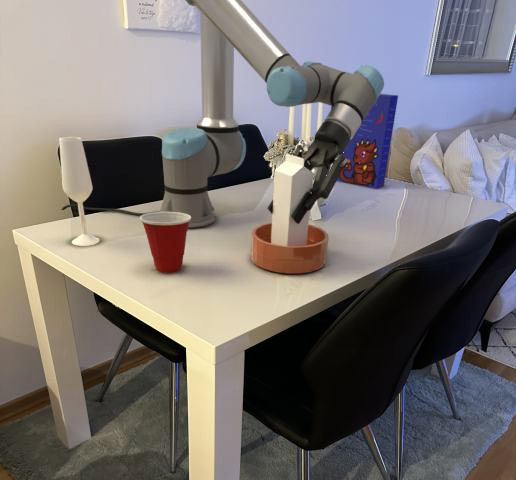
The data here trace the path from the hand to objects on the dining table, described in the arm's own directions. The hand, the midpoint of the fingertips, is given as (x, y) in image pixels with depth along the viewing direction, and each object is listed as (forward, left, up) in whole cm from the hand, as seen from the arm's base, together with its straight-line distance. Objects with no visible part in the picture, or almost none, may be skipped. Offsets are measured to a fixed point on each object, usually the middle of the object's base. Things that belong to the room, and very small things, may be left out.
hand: (283, 215), depth 112 cm
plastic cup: (-26, -1, -11) cm, 28 cm away
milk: (+2, +1, -10) cm, 10 cm away
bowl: (+2, +1, -11) cm, 11 cm away
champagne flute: (-46, +18, -11) cm, 51 cm away
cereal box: (+44, +74, -11) cm, 87 cm away
